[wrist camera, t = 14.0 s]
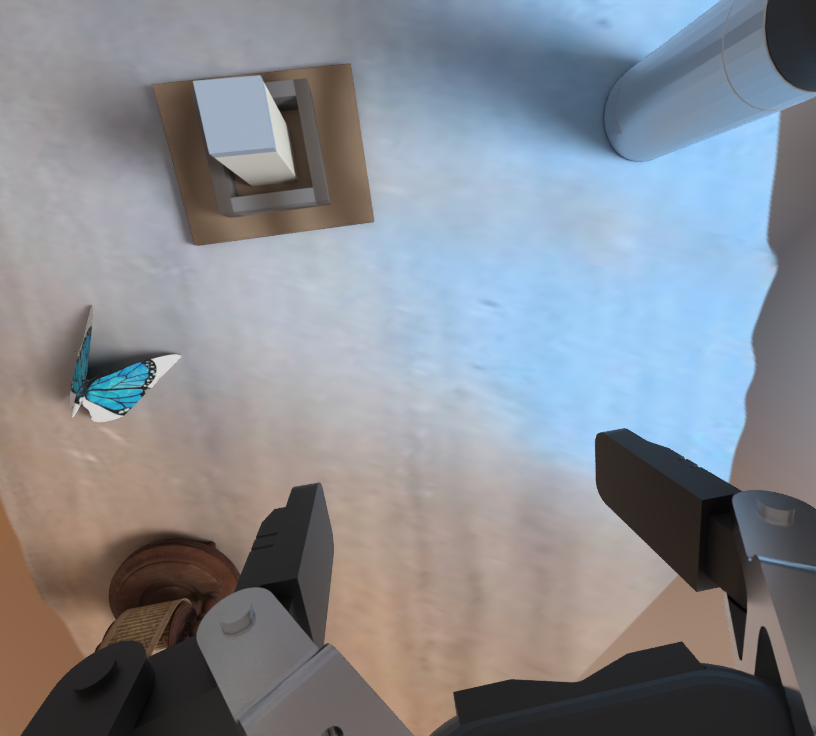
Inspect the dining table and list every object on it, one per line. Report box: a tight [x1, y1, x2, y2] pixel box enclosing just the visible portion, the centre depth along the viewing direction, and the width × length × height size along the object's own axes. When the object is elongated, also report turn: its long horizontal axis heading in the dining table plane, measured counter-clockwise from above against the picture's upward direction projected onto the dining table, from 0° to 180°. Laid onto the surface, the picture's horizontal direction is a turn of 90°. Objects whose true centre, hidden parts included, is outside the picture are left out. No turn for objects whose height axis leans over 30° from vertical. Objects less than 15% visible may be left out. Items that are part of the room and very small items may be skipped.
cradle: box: [153, 64, 374, 246], centre depth 37 cm, size 18×14×4 cm
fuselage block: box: [193, 75, 298, 186], centre depth 33 cm, size 4×4×11 cm
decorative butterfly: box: [70, 305, 181, 422], centre depth 41 cm, size 10×6×10 cm
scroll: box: [95, 539, 240, 657], centre depth 40 cm, size 15×15×20 cm
